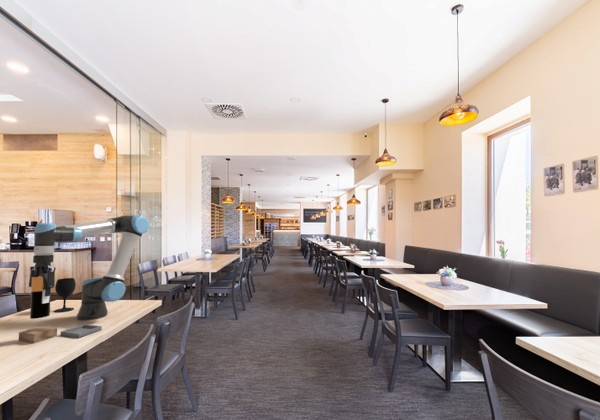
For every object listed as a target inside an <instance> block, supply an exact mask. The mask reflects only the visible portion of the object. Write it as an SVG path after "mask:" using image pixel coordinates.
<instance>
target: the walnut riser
mask: <svg viewBox="0 0 600 420" xmlns="http://www.w3.org/2000/svg"><path fill="white" fill-rule="evenodd" d="M57 336H58V327H53V326H46V325H41V326H40V325H39V326H38V327H33V328H30V329H27V330H23V331H19V332H18V340H17V341H18V342H21V343H26V344H36V343H40V342H43V341H46V340H49V339H53V338H55V337H57Z"/></svg>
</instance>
